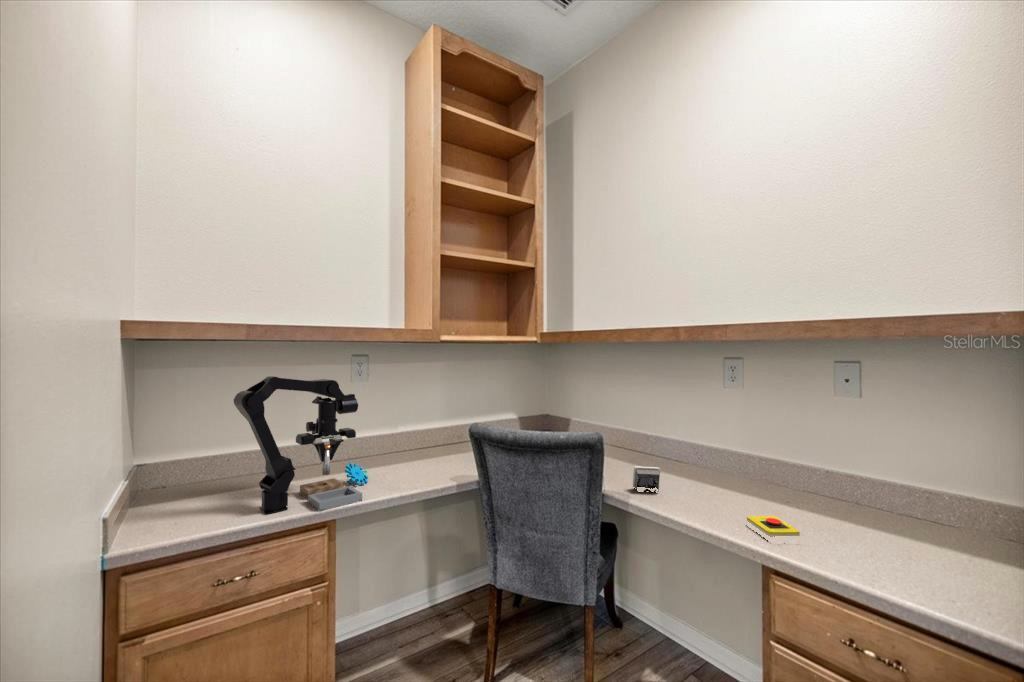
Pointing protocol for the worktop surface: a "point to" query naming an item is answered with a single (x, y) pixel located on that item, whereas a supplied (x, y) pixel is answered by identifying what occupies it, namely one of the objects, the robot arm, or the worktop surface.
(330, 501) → the tray
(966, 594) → the worktop surface
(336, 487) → the wooden block
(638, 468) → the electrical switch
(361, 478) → the gear
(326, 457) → the pin
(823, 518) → the worktop surface
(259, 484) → the robot arm
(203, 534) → the worktop surface
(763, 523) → the emergency button
